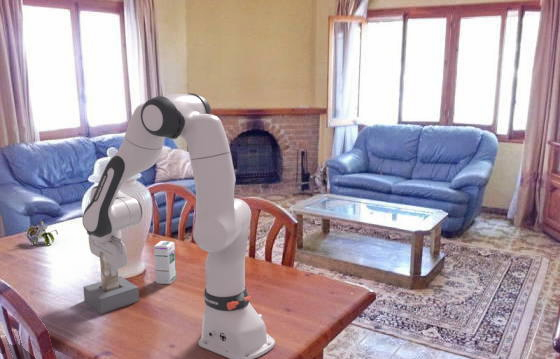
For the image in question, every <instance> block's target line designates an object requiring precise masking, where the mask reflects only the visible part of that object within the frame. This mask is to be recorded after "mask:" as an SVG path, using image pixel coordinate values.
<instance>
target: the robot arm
mask: <svg viewBox="0 0 560 359" xmlns="http://www.w3.org/2000/svg"><path fill="white" fill-rule="evenodd" d="M179 137H180V138H182V139H183V140H184V141H185V143H186V145H187V149H188V153H189V154H188V155H189V160H190V165H191V171H192V175H193V180H194V185H195V221H194V226H193V230H192V237H193V240H194V242H195V244H196V246H197V247H199V248H200V249H201V250H202V251H205V252H206V253H207V252H208V254H207V256H206V259H205V263H204V264H205V266H204V267H205V269H204V270H205V287H204V288H205V289H204V294H203V298H204V304H205V307H204V308H205V309H204V311H203V313H202V314H203V315H202V319H201V320H202V321H201V336H200V339H198V346H200V348H203V349H206V350H208V351H210V352H213V353H215V354H218V355H220V356H222V357H225V358H228V359H256V358H259V357H260V356H263V355H264V354H266V353H268V352H269V351H271V350H272V349H273V348H274V347H275V344H276V340H275V339H274V338H273V337H272V336H271V335H269V334H268V333H267V327H266V324H265V321H264V317H263V314H261V313H257V311H256V310H255V308H254V307H253V306H252V304H251V303H250V300H252V298H251V297H252V295H249V294H248V293H249V292H248V290H247V287H246V283H245V282H246V280H245V279H246V277H245V276H246V274H245V273H246V271H245V270H246V269H245V268H246V267H245V264H246V262H245V261H246V253H247V248H248V247H247V246H248V240H249V239H248V238H249V230H250V224H251V219H252V211H251V208H250V206H249V204H248V203H247V202H246V201H245V200H243V199H240V198H236V197H235V186H236V173H235V169H234V163H233V158H232V153H231V147H230V143H229V139H228V137H227V133H226V131H225V128H224V126H223V121H221V119H220V118H219V117H218V116H217V115H215V114H212V109H211V106H210V103H209V101H208V100H207V99H206V98H205V97H204V96H202V95H200V94H196V93H191V92H190V93H170V94H166V95H162V96H161V95H158V96H154V97H152V98H150V99H149V100H147V101H146V102H144V103H141V104H139V105H138V106H136V108H135V109H134V111H133V113H132V115H131V116H130V120H129V121H128V125H127V127H126V130H125V134H124V137H123V140H122V143H121V144H120V146H119V148H118V149H117V151H116V153H114V155H113V156H112V157H111V158H110V159H109V161H108V162H107V163H106V166H105V168H104V170H103V172H102V174H101V177H100V180H99V182H98V184H97V185H96V186H93V187H92V188H91V190H90V195H89V196H90V197H89V203H88V204H87V205H86V207H85V209H84V211H83V215H82V225H83V227H84V229H85V231H86V234H87V235H88V245H89V250H90V253H91V254H92V255H94V256H96V257H97V258H99V259H100V252H102V253H104V254H106V262H107V263H109V264H110V266H111V270H109V272H110V275H111V276H115V275H117V268H118V269H121V268H124V267H127V265H128V256H127V255H128V254H127V248H126V244H124V242H122V240H121V238H122V230H125V229H127V228H130V227H133V226H135V225H137V224H140V222H141V220H142V217H143V208H142V204H141V202H140V201H139V200H138V199H137V198H136V197H134V196H131V195H130V196H129V195H127V194H126V193H124V192H123V191H122V190H121V188H122V186H123V185H124V184H125V183H126V182H127V181H129V180H130V179H132V178H133V177H135V176H137V175H139V174H141V173H142V172H145V171H147V170H149V169H150V168H152V167H153V166H155V165H156V164H157V163H156V162H157V161H158V159H159V158H160V156H161V154H162V151H163V147H164V144H165V139H167V138H168V139H172V140H176V139H178V138H179ZM99 251H100V252H99Z"/></svg>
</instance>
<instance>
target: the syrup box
mask: <svg viewBox="0 0 560 359" xmlns="http://www.w3.org/2000/svg"><path fill="white" fill-rule="evenodd" d="M175 245H176V244H175V241H173V240H171V241H170V240H160V241H159V242H158V243H156V244H155V245H154V246H153V253H154V254H153V256H154V269H155V281H156V282H155V283H156V284H160V285H161V284H162V285H171V284H172V283H173V282H174V281H176V280H177V277H178V275H177V262H176V261H177V260H176V246H175Z"/></svg>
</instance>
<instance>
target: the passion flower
mask: <svg viewBox="0 0 560 359" xmlns="http://www.w3.org/2000/svg"><path fill="white" fill-rule="evenodd" d="M44 223H45V222H44V221H42V220H41V221H40V223H36V224H35V225H30V226H29V227H28V228H27V230H26V234H25V237H26V238H27V239H28V241H29V242H31V243H32V244H34V245H37V243H38V242H39V239H43V240H44V241H45V245H47V244H50V241H51V242H52V243H54V241H55V237H54V235H53V232H54V231H55V233H56V235H59V233H58V231H57V229H53V230H51V232H50V231H48V232H46V230H47V229H48V226H47V225H46V226H45V225H44ZM31 243H30V244H31Z"/></svg>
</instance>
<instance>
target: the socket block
mask: <svg viewBox="0 0 560 359" xmlns="http://www.w3.org/2000/svg"><path fill="white" fill-rule="evenodd" d="M118 281H119V289H115V290H112V291H109V292H105V291H103V290H102V281H99V282H95V283H92V284H91V283H90V284H87V285H84V286H83V298H84V302H85V303H87V304H88V305H89V306H91V308H93V309H95V310H96V311H97V312H99V313H100V314H102V315H103V314H106V313H108V312H111V311H114V310H117V309H120V308H123V307H126V306H129V305H131V304H132V305H133V304H136V303H137V302H138V303H139V301H140V291H139V286H138V285H136V284H134V283H132V282H131V281H130V280H128V279H126V278H124V277H122V276H121V275H118Z"/></svg>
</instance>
